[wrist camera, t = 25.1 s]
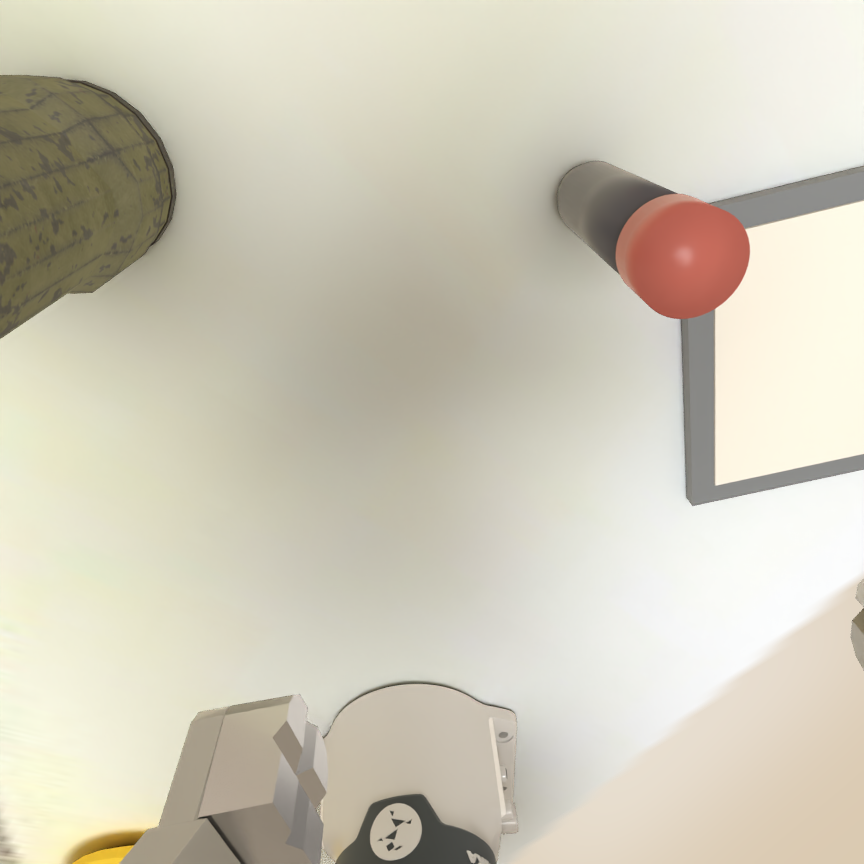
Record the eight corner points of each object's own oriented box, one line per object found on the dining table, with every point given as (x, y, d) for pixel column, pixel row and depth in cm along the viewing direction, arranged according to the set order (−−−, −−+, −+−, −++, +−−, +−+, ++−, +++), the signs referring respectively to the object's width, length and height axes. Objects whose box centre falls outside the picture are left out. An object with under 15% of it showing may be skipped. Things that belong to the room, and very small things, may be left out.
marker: (622, 220, 35) (748, 304, 22) (554, 237, 35) (640, 329, 22) (617, 147, 33) (751, 193, 20) (545, 165, 33) (633, 222, 21)
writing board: (917, 448, 43) (930, 457, 42) (686, 497, 44) (693, 507, 43) (976, 138, 34) (995, 140, 33) (678, 211, 35) (687, 215, 34)
